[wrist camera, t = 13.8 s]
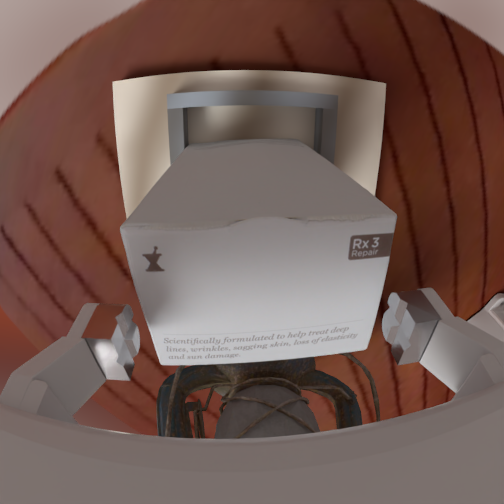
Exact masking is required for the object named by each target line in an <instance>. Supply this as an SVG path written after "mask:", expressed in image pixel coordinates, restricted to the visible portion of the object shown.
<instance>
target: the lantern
mask: <svg viewBox="0 0 504 504" xmlns="http://www.w3.org/2000/svg"><path fill="white" fill-rule="evenodd" d="M338 354H340V355H344V356H347V357H348V358H349V359H351V360H352V361H354V362H355V363H356V364H358V365H359V366H360V367H362V369H363V370H364V372H365V374H366V376H367V377H368V379H369V381H370V385H371V389H372V394H373V399H374V404H375V409H376V416H377V422H378V421H380V410H379V399H378V395H377V391H376V387H375V383H374V380H373V378H372V376H371V374H370V372H369V371H368V369H367V368H366V367H365V366H364V365H363V364H362V363H361V362H360V361H358V360H357V359H356V358H355V357H353V356H352V355H351V354H349V353H347V352H346V353H338ZM185 366H186V365H180V366H179V367H178V368H177V369H176V373H174V374H172V375H170V376H169V377H168V378H167V379H166V380H165V381H164V382H163V384H162V386H161V387H160V389H159V393H158V398H157V428H158V436H161V437H176V438H193V435H192V430H191V424H190V418H189V411H194V412H193V413H194V427H195V438H197V439H200V436H199V431H200V435H201V439H205V433H204V422H203V414H202V411H206V410H207V407H208V404H209V402H210V399H211V396H212V393H213V391H216V392H217V393H219V394H220V395H222V396H223V397H222V399H221V401H222V402H223V404H222V405H221V407H220V408H219V410H220V414H221V416H220V418H219V420H218V423H217V425H216V433H215V438H214V439H242V438H264V437H278V436H290V435H299V434H308V433H316V432H320V430H319V427H318V424H317V422H316V419H315V416H314V413H313V412H312V411H311V409H310V408H309V407H308V406H307V404H309V400H308V399H307V398H305V397H302V396H301V389H302V390H308V391H312V392H314V393H317V394H319V395H322V396H324V397H327V398H328V399H329V400H330V401H331V402H333V404H334V407H335V410H336V423H337V429H343V428H348V427H354V426H359V425H362V417H361V411H360V408H359V405H358V402H357V399H356V397H357V395H356V394H355V393H354V391H352V390H351V389H350V388H349V387H348V386H347V385H345V384H344V383H342V382H341V381H340V380H338V379H337V378H335V377H333V376H330V375H328V374H326V373H324V372H322V371H318V370H315V366H316V364H315V360H314V357H305V358H296V359H285V360H274V361H261V362H247V363H229V364H207V365H193V366H190V367H187V368H184V367H185ZM210 387H211V390H210V393H209V396H208V399H207V402H206V405H205V407H204V408H202V406H201V402H200V400H199V399H198V402H187V403H185V400H186V397H187V396H188V395H189V394H190V393H193V392H195V391H197V390H201V389H206V388H210ZM225 405H226V407H225V409H224V411H223V407H224V406H225ZM197 413H198V414H197ZM198 426H199V429H198Z"/></svg>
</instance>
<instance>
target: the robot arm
mask: <svg viewBox="0 0 504 504" xmlns="http://www.w3.org/2000/svg"><path fill="white" fill-rule="evenodd" d="M387 303H388V305H389V307H390V308H389V309H388V310H387V311H386V312H385V313H384V316H383V320H382V331H383V335H384V337H385V339H386V341H387V342H389V343H390V344H392V348H391V352H392V354H393V356H394V358H395V360H396V362H397V365H402V364H408V363H413V362H419V361H420V362H419V363H421V364H422V365H423V366H424V367H425V368H427V369H428V370H429V371H430V372H431V373H433V374H434V375H435V376H436V377H437V378H438V379H440V380H441V381H442V382H443V383H444V384H446V385H447V386H448V387H449V388H450V389H452V390H453V391H454V392H455V393H456V394H455V396H454V397H453V399H452V400H451V401H450V402H447V403H444V404H441V405H438V406H435V407H431V408H428V409H425V410H421V411H418V412H414V413H411V414H407V415H403V416H399V417H395V418H391V419H387V420H383V421H378V422H374V423H369V424H364V425H359V426H354V427H348V428H343V429H337V430H330V431H323V432H316V433H308V434H299V435H290V436H278V437H264V438H242V439H197V438H176V437H161V436H150V435H141V434H131V433H124V432H117V431H111V430H104V429H98V428H93V427H88V426H82V425H79V424H78V422H77V421H76V420H75V419H74V418H73V415H74V414H75V413H76V412H77V411H78V410H79V409H80V407H81V406H82V405H83V404H84V403H85V402H86V401H87V400H88V399H89V398H90V397H91V396H92V395H93V394H94V393H95V392H96V391H97V390H98V388H99V387H100V386H101V385H102V384H103V383H104V382H105V381H106V379H113V380H129V381H130V379H131V375H132V372H133V368H134V365H135V364H134V362H133V359H132V358H133V357H134V356H136V355H137V354H138V350H139V347H140V336H139V330H138V327H137V325H136V324H135V323H134V322H133V321H131V320H132V317H133V312H132V309H131V307H130V306H129V305H127V304H101V303H100V304H96V303H87V304H85V305H84V306H83V307H82V309H81V311H80V313H79V314H78V316H77V318H76V320H75V322H74V324H73V326H72V327H71V329H70V331H69V333H68V335H67V337H62V338H60V339H59V340H57V341H56V342H54V343H53V344H52V345H50V346H49V347H47V348H46V349H44V350H43V351H42V352H40V353H39V354H38V355H36V356H35V357H33V358H32V359H30V360H29V361H28V362H26V363H25V364H24V365H22V366H21V367H20V368H18V369H17V370H15V371H14V372H12V374H11V376H10V378H9V379H8V382H7V383H6V385H5V388H4V390H3V391H2V394H1V396H0V504H504V294H502V293H499V294H497V295H495V296H494V297H493V298H492V299H491V300H490V301H489V303H488V304H487V305H486V306H485V307H484V308H483V309H482V310H481V311H480V312H479V313H477V314H476V315H475V316H473V317H472V318H471V319H469V320H468V321H465V320H463V319H461V318H459V317H454V316H453V314H452V313H451V312H450V310H449V309H448V308H447V306H446V305H445V304H444V302H443V301H442V300H441V298H440V297H439V296H438V294H437V293H436V292H435V290H434V289H432V288H423V289H418V290H410V291H401V292H392V293H391V295H390V296H389V299H388V302H387Z"/></svg>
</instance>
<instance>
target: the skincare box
mask: <svg viewBox="0 0 504 504" xmlns="http://www.w3.org/2000/svg"><path fill="white" fill-rule="evenodd" d="M396 220H397V215H396V213H394V212H393V211H392V210H391V209H389V208H388V207H387V206H386V205H385V204H383V203H382V202H381V201H380V200H379V199H377V198H376V197H375V196H374V195H373V194H371V193H370V192H369V191H368V190H366V189H365V188H364V187H362V186H361V185H360V184H358V183H357V182H356V181H355V180H353V179H352V178H351V177H349V176H348V175H347V174H345V173H344V172H343V171H341V170H340V169H339V168H338V167H336V166H335V165H334V164H332V163H331V162H329V161H328V160H327V159H325V158H324V157H322V156H321V155H320V154H318V153H317V152H316V151H314V150H313V149H311V148H310V147H308V146H307V145H305V144H304V143H302V142H301V141H300V140H299V139H242V140H224V141H216V142H208V143H190V144H189V145H188V146H187V147H186V148H185V149H184V150H183V152H182V153H181V154H180V155H179V156H178V157H177V159H176V160H175V161H174V162H173V163H172V165H171V166H170V167H169V168H168V169H167V170H166V172H165V173H164V174H163V175H162V176H161V178H160V179H159V180H158V181H157V182H156V183H155V185H154V186H153V187H152V188H151V190H150V191H149V192H148V193H147V195H146V196H145V197H144V198H143V200H142V201H141V202H140V203H139V205H138V206H137V207H136V209H135V210H134V211H133V212H132V214H131V215H130V216H129V217H128V219H127V220H126V221H125V222H124V223H123V224H122V225H121V227H120V232H121V236H122V239H123V243H124V247H125V250H126V254H127V259H128V263H129V267H130V271H131V274H132V278H133V281H134V285H135V288H136V291H137V295H138V298H139V301H140V304H141V307H142V310H143V313H144V316H145V319H146V322H147V325H148V328H149V331H150V334H151V336H152V340H153V343H154V346H155V349H156V352H157V355H158V358H159V361H160V363H161V364H162V365H207V364H229V363H247V362H261V361H274V360H285V359H296V358H305V357H314V356H322V355H331V354H338V353H346V352H354V351H361V350H365V349H367V346H368V343H369V340H370V337H371V334H372V330H373V327H374V323H375V320H376V316H377V311H378V307H379V303H380V299H381V295H382V291H383V286H384V282H385V277H386V273H387V268H388V263H389V258H390V251H391V245H392V240H393V234H394V230H395V225H396Z"/></svg>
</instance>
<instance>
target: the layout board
mask: <svg viewBox="0 0 504 504" xmlns="http://www.w3.org/2000/svg"><path fill="white" fill-rule="evenodd" d="M385 95H386V83H381V82H375V81H369V80H363V79H357V78H350V77H343V76H335V75H326V74H317V73H305V72H291V71H269V70H221V71H199V72H185V73H174V74H164V75H155V76H148V77H140V78H134V79H127V80H121V81H115V82H113V101H114V117H115V130H116V141H117V151H118V160H119V169H120V177H121V184H122V191H123V198H124V205H125V211H126V217H127V219H128V217H129V216H130V215H131V214H132V212H133V211H134V210H135V209H136V207H137V206H138V205H139V203H140V202H141V201H142V200H143V198H144V197H145V196H146V195H147V193H148V192H149V191H150V190H151V188H152V187H153V186H154V185H155V183H156V182H157V181H158V180H159V179H160V178H161V176H162V175H163V174H164V173H165V172H166V170H167V169H168V168H169V167H170V166H171V165H172V163H173V162H174V161H175V160H176V159H177V157H178V156H179V155H180V154H181V153H182V152H183V150H184V149H185V148H186V147H187V146H188V145H189V144H190V143H208V142H216V141H224V140H242V139H299V140H300V141H301V142H302V143H304V144H305V145H307V146H308V147H310V148H311V149H313V150H314V151H316V152H317V153H318V154H320V155H321V156H322V157H324V158H325V159H327V160H328V161H329V162H331V163H332V164H334V165H335V166H336V167H338V168H339V169H340V170H341V171H343V172H344V173H345V174H347V175H348V176H349V177H351V178H352V179H353V180H355V181H356V182H357V183H358V184H360V185H361V186H362V187H364V188H365V189H366V190H368V191H369V192H370V193H371V194H373V195H374V196H375V191H376V184H377V177H378V169H379V161H380V153H381V144H382V134H383V123H384V110H385Z"/></svg>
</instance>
